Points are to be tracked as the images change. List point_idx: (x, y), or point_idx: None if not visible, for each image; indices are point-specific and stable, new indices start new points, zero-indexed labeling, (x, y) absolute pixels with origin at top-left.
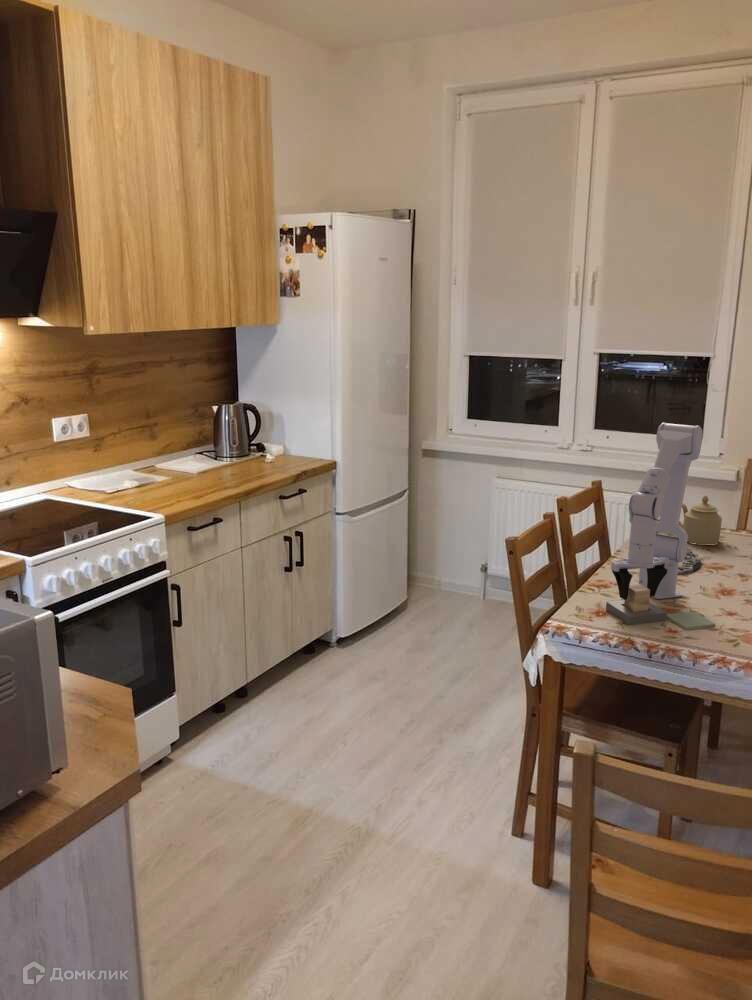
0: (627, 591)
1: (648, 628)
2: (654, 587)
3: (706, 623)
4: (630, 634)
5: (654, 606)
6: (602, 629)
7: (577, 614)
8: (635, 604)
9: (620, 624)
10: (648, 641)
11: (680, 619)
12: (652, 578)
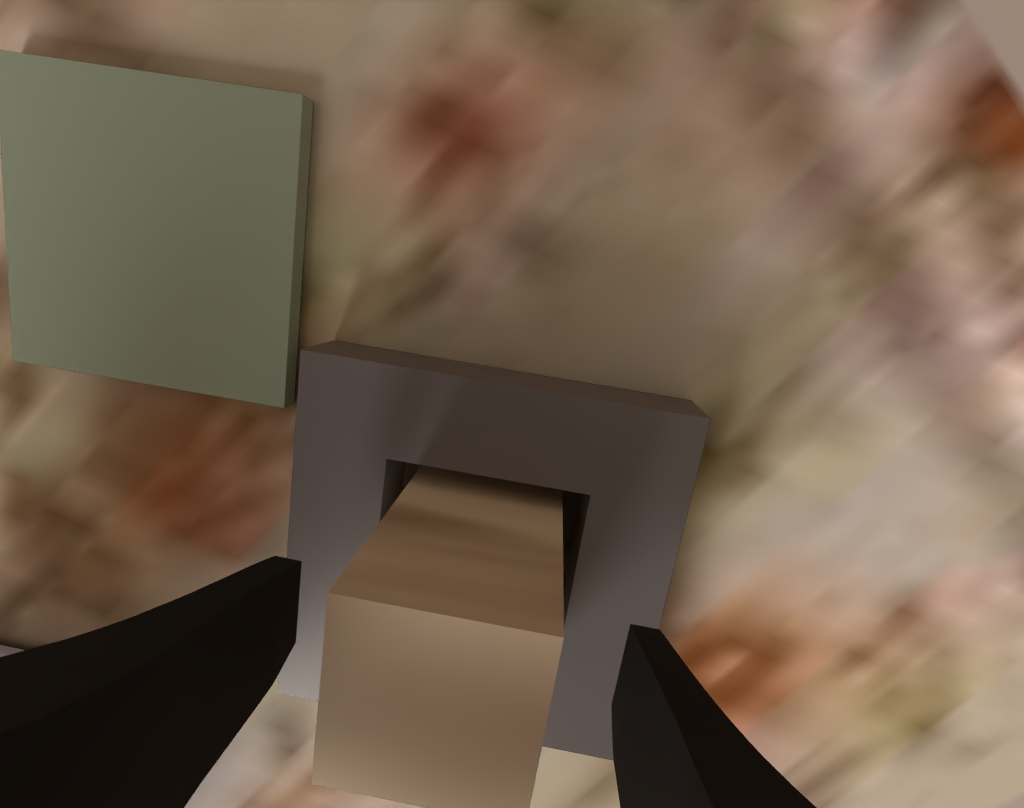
0: (675, 684)
1: (597, 275)
2: (229, 613)
3: (69, 91)
4: (851, 239)
5: (307, 509)
6: (981, 430)
7: (900, 736)
8: (550, 541)
9: (750, 444)
10: (835, 32)
11: (230, 265)
12: (142, 764)
